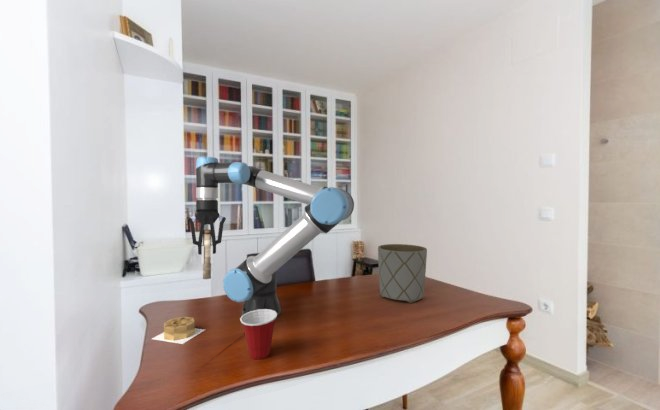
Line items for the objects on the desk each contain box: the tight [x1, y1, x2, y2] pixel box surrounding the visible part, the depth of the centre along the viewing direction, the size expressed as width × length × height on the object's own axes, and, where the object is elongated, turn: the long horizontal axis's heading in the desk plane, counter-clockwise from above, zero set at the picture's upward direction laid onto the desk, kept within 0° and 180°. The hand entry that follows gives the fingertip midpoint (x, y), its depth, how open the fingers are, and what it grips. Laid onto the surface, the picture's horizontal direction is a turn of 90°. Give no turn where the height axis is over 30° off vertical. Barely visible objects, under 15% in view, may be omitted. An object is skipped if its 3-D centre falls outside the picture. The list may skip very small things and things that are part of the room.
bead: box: [163, 316, 196, 341], centre depth 105 cm, size 9×9×4 cm
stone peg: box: [202, 229, 212, 280], centre depth 116 cm, size 3×3×18 cm
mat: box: [151, 327, 205, 345], centre depth 105 cm, size 12×11×1 cm
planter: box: [377, 243, 428, 304], centre depth 150 cm, size 23×23×24 cm
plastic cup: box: [239, 309, 278, 360], centre depth 93 cm, size 11×11×12 cm
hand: (207, 262), depth 117 cm, fingers closed on stone peg, 2 cm apart
